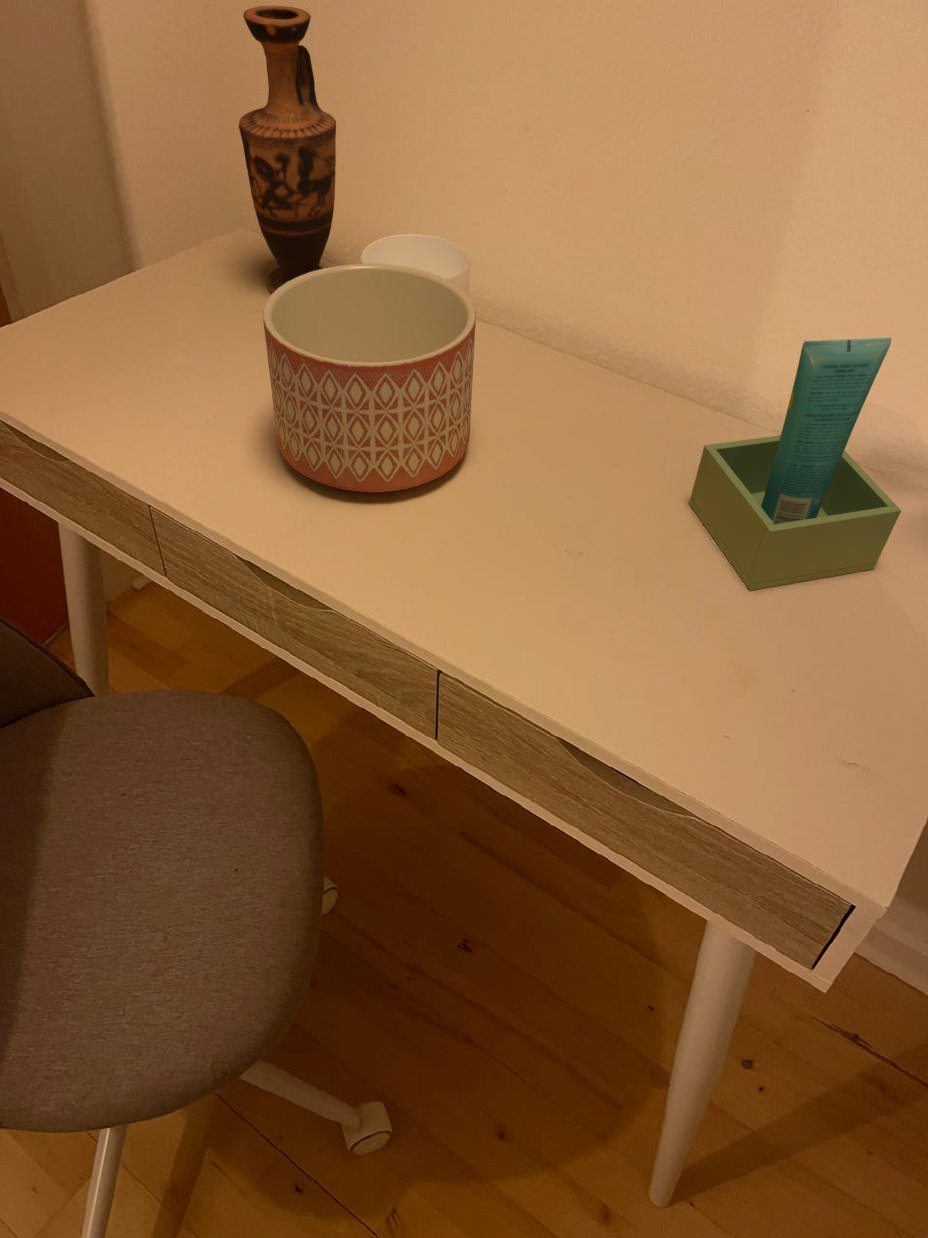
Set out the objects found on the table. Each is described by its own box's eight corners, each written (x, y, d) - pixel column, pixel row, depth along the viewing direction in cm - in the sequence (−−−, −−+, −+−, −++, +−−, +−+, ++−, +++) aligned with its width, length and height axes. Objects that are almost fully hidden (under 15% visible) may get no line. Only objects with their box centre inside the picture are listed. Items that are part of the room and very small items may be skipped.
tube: (804, 507, 90) (874, 321, 77) (830, 539, 87) (908, 351, 73) (734, 517, 89) (792, 329, 75) (757, 550, 85) (823, 360, 72)
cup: (470, 338, 112) (475, 238, 104) (459, 390, 104) (464, 286, 95) (373, 329, 113) (370, 229, 104) (354, 380, 104) (350, 276, 96)
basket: (874, 569, 85) (901, 510, 81) (749, 590, 83) (770, 531, 78) (803, 486, 94) (824, 428, 89) (688, 503, 91) (704, 444, 86)
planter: (241, 469, 92) (219, 329, 82) (340, 378, 105) (332, 247, 94) (415, 527, 87) (416, 386, 76) (498, 424, 99) (508, 291, 89)
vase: (308, 315, 114) (286, 32, 93) (240, 291, 118) (203, 13, 97) (361, 282, 121) (351, 11, 100) (294, 260, 125) (271, -6, 103)
